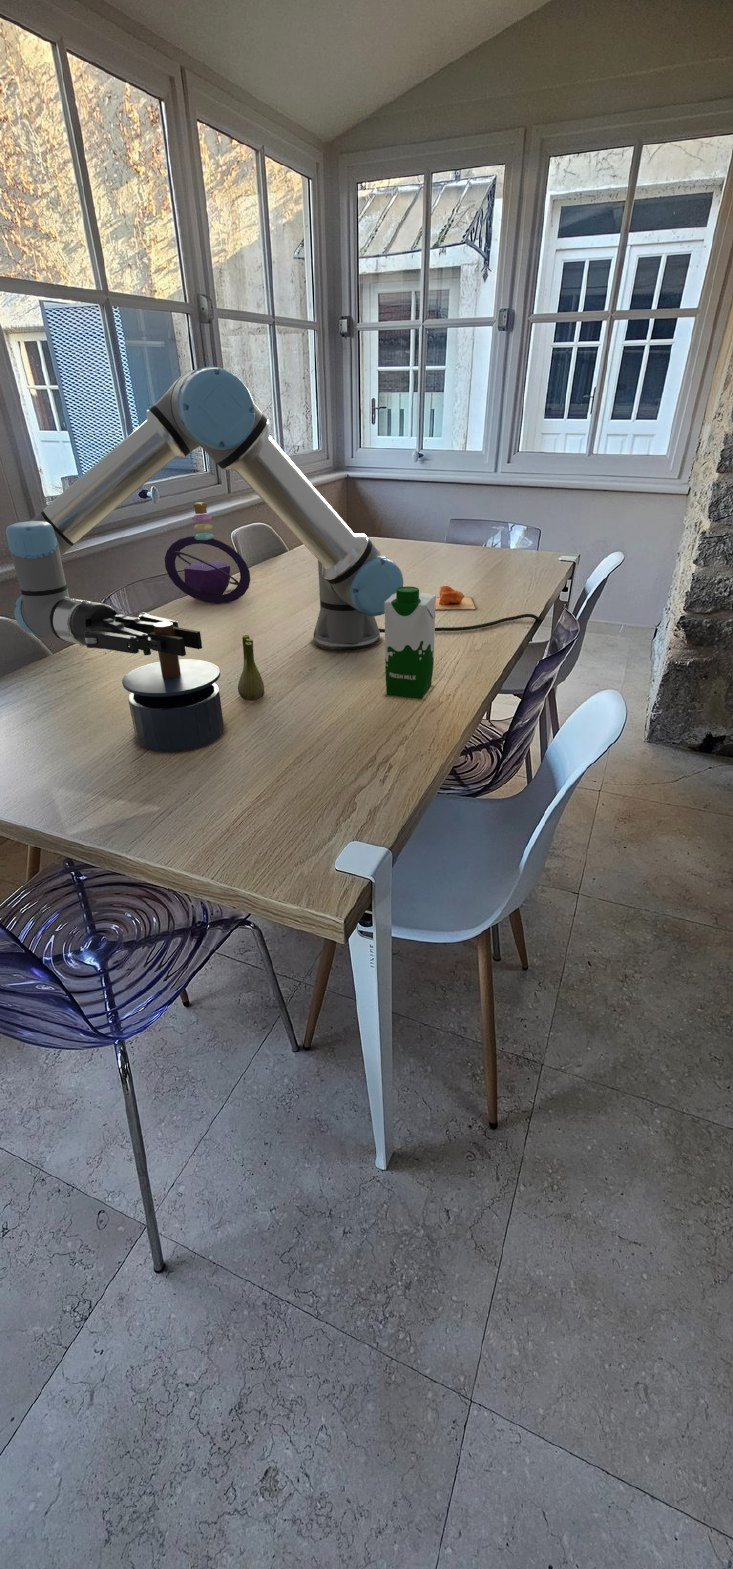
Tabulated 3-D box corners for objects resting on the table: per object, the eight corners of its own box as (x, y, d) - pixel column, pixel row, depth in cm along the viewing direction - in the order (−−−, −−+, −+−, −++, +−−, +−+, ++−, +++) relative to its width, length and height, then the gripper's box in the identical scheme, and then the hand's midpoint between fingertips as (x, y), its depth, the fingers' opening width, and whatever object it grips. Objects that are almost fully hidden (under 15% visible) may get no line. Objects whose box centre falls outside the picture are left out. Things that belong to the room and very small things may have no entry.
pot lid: (203, 659, 124) (195, 605, 119) (234, 687, 112) (227, 628, 107) (114, 676, 118) (102, 620, 113) (136, 708, 106) (124, 646, 101)
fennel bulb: (259, 705, 129) (253, 643, 124) (234, 703, 130) (227, 641, 124) (269, 693, 134) (263, 633, 128) (245, 692, 135) (238, 631, 129)
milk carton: (380, 696, 132) (379, 590, 122) (394, 680, 140) (395, 579, 130) (425, 702, 130) (428, 594, 120) (437, 685, 137) (441, 582, 127)
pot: (208, 709, 128) (202, 671, 124) (236, 739, 117) (231, 698, 113) (127, 727, 122) (119, 687, 118) (149, 760, 111) (140, 717, 107)
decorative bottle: (178, 610, 187) (163, 511, 174) (165, 592, 203) (150, 501, 191) (259, 600, 194) (250, 504, 182) (240, 584, 211) (231, 495, 199)
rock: (475, 609, 183) (476, 593, 181) (429, 610, 183) (429, 593, 181) (470, 597, 193) (471, 582, 191) (426, 598, 194) (426, 582, 192)
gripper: (128, 632, 127) (227, 651, 117) (54, 659, 115) (158, 683, 105) (120, 591, 123) (222, 607, 113) (43, 614, 111) (149, 634, 101)
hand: (191, 643), depth 109 cm, fingers closed on pot lid, 3 cm apart
